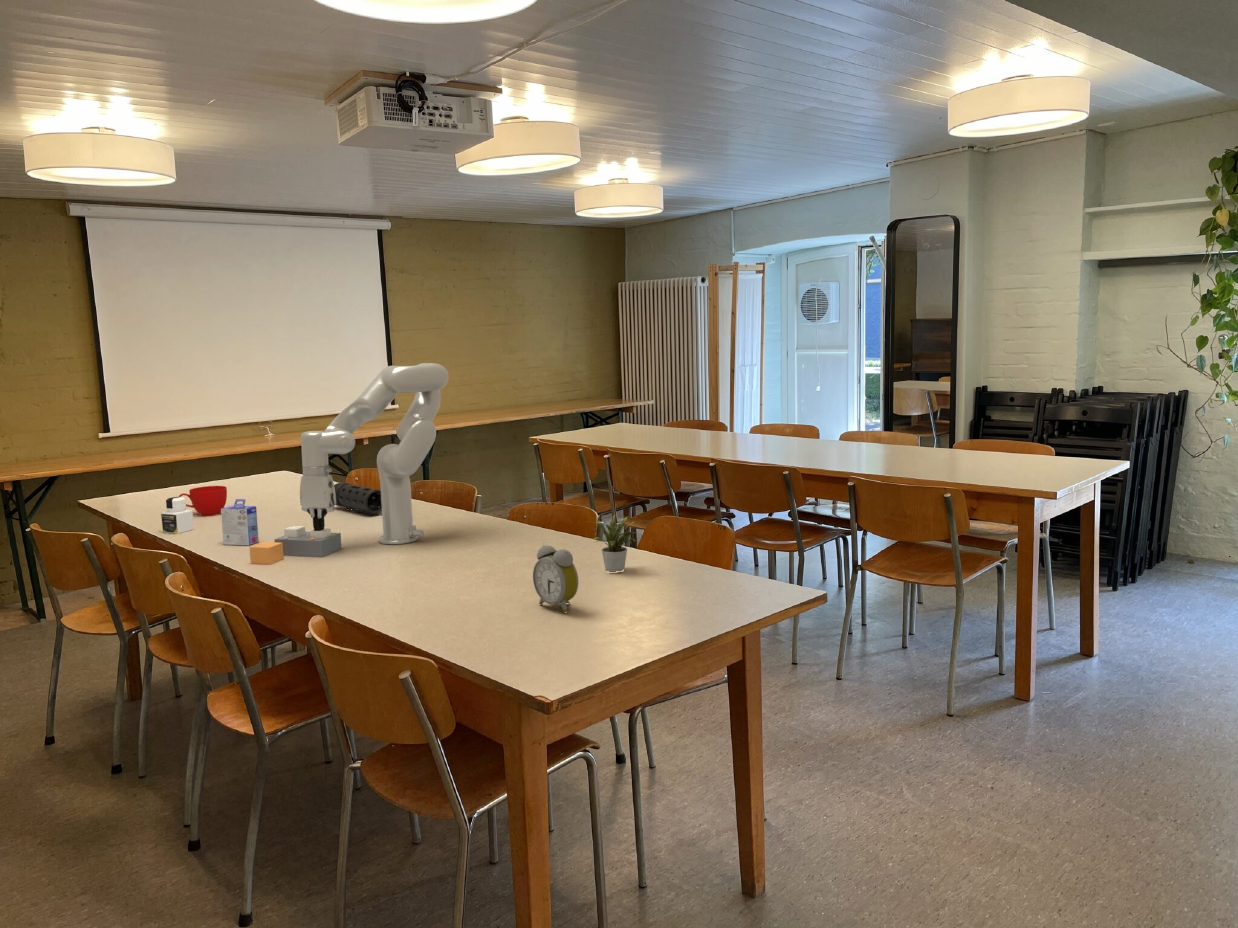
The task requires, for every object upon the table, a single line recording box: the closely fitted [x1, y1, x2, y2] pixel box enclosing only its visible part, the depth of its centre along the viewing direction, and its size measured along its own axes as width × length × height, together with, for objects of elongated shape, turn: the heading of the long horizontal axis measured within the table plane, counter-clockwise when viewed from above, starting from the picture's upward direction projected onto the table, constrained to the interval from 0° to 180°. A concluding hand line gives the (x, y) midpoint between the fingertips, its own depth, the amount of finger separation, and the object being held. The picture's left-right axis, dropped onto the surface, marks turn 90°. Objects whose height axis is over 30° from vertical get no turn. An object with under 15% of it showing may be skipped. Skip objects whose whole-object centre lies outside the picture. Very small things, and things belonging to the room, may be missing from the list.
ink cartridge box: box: [220, 498, 260, 546], centre depth 281 cm, size 10×6×14 cm, turn 78°
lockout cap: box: [249, 541, 285, 565], centre depth 259 cm, size 7×7×5 cm
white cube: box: [283, 525, 306, 538], centre depth 270 cm, size 4×4×4 cm
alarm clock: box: [532, 544, 579, 613], centre depth 208 cm, size 12×7×15 cm, turn 45°
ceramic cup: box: [178, 485, 228, 517], centre depth 331 cm, size 13×17×10 cm
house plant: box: [587, 513, 637, 572], centre depth 239 cm, size 14×14×16 cm
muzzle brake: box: [334, 481, 382, 517], centre depth 331 cm, size 10×28×10 cm, turn 47°
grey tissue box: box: [274, 531, 342, 558], centre depth 269 cm, size 16×11×6 cm
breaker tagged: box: [309, 527, 332, 539], centre depth 268 cm, size 4×4×4 cm
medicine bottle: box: [160, 496, 195, 535], centre depth 302 cm, size 7×7×12 cm
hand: (319, 529), depth 267 cm, fingers closed
